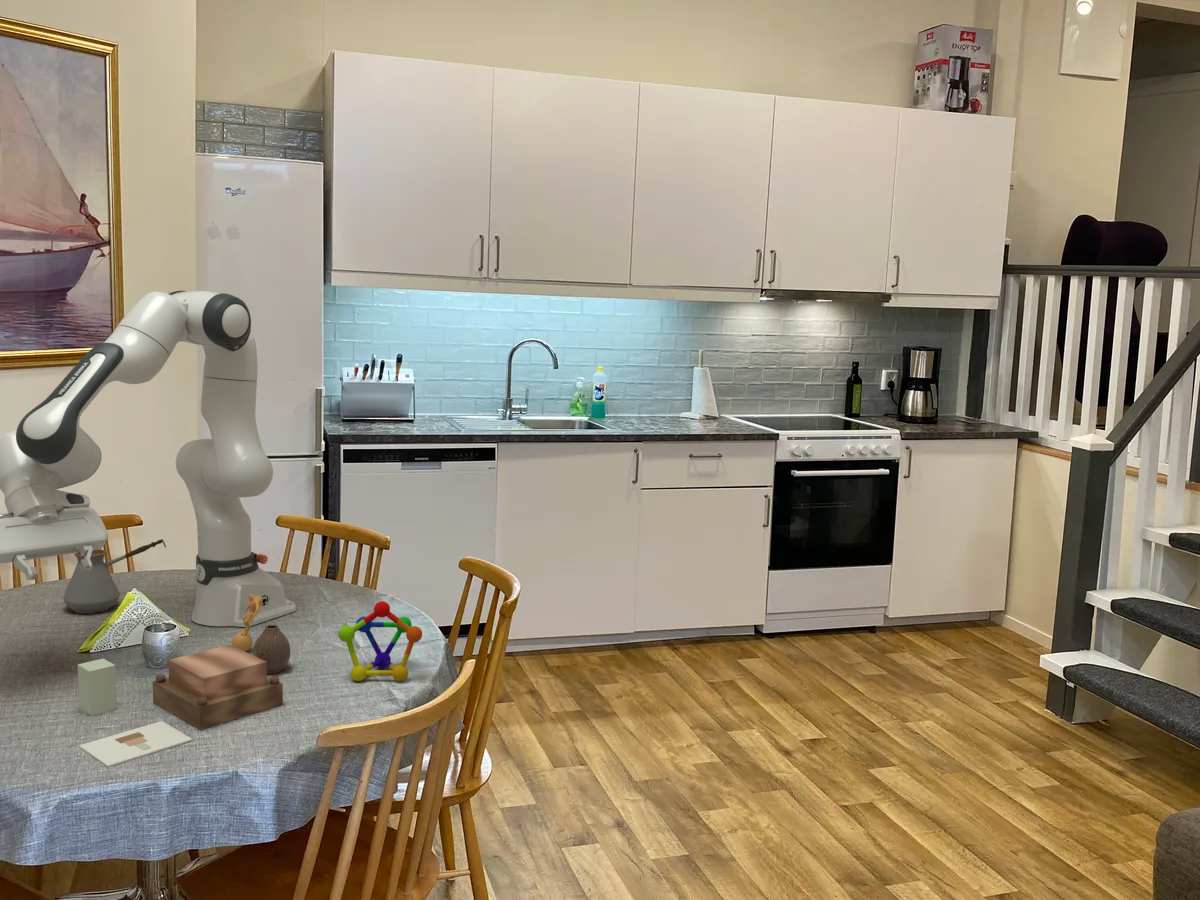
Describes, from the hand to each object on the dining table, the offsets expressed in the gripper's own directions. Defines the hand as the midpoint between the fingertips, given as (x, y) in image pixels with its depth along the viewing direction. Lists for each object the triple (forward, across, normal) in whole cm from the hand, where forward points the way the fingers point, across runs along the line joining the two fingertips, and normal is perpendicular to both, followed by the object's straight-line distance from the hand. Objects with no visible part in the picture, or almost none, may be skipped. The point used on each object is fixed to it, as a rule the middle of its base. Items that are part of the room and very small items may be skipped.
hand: (60, 573), depth 196 cm
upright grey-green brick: (+24, +1, +6) cm, 25 cm away
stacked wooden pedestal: (+32, +17, -2) cm, 36 cm away
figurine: (+18, +35, +12) cm, 41 cm away
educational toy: (+37, +47, -8) cm, 60 cm away
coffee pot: (-13, +29, +43) cm, 53 cm away
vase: (+27, +33, +3) cm, 42 cm away
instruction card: (+37, -1, -6) cm, 37 cm away
